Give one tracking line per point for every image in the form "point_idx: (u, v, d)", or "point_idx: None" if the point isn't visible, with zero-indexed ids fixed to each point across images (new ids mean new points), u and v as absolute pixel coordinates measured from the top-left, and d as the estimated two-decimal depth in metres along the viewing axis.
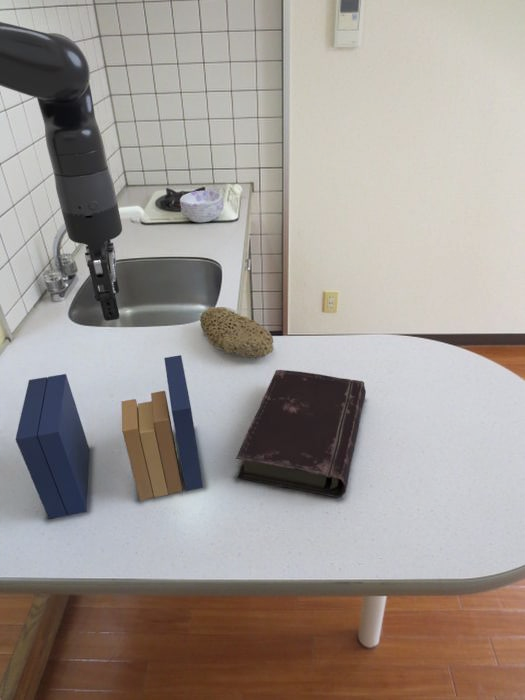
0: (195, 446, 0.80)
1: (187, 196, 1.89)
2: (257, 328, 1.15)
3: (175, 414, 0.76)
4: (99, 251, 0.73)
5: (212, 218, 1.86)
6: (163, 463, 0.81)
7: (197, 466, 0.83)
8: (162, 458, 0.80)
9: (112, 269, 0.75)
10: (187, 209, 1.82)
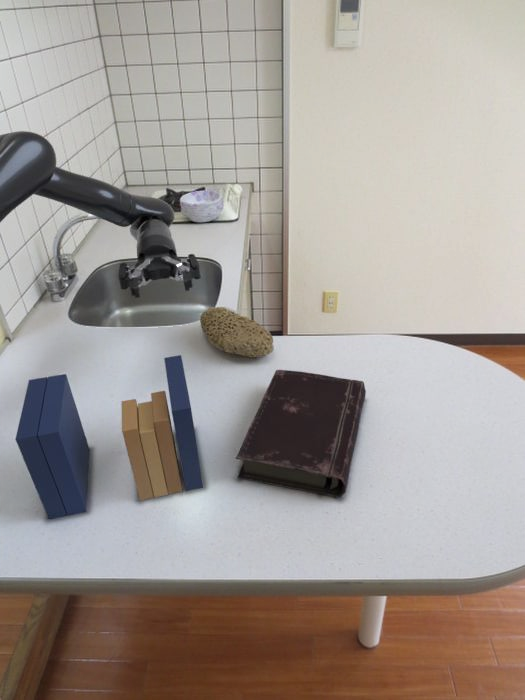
0: (195, 446, 0.80)
1: (187, 196, 1.89)
2: (257, 328, 1.15)
3: (175, 414, 0.76)
4: None
5: (212, 218, 1.86)
6: (163, 463, 0.81)
7: (197, 466, 0.83)
8: (162, 458, 0.80)
9: None
10: (187, 209, 1.82)
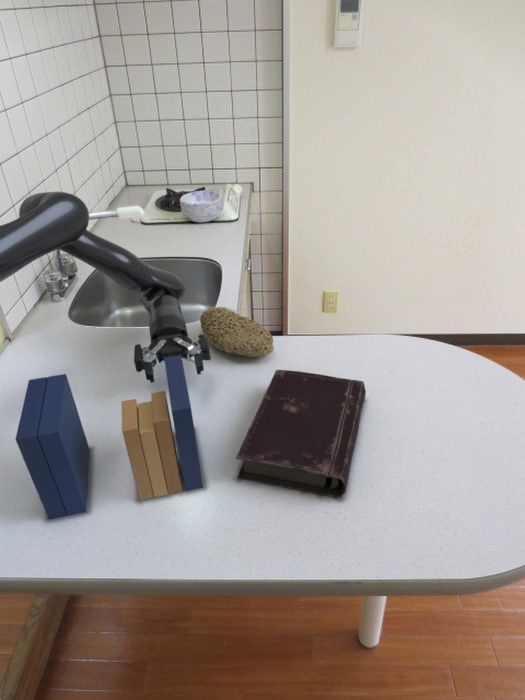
0: (195, 446, 0.80)
1: (187, 196, 1.89)
2: (257, 328, 1.15)
3: (175, 414, 0.76)
4: None
5: (212, 218, 1.86)
6: (163, 463, 0.81)
7: (197, 466, 0.83)
8: (162, 458, 0.80)
9: None
10: (187, 209, 1.82)
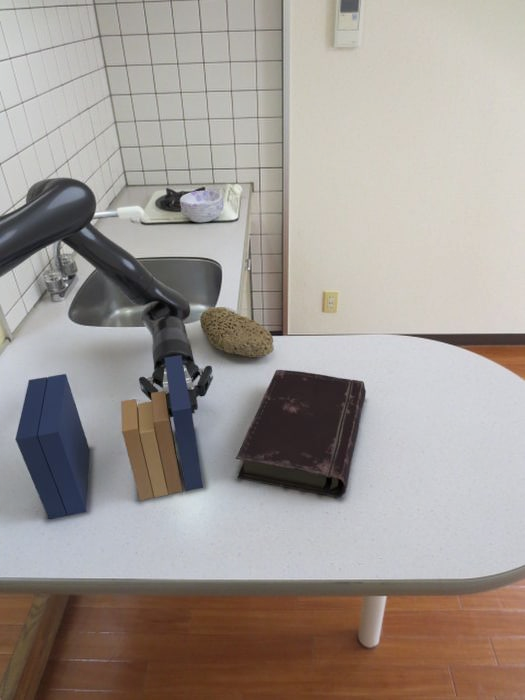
0: (195, 446, 0.80)
1: (187, 196, 1.89)
2: (257, 328, 1.15)
3: (176, 414, 0.76)
4: None
5: (212, 218, 1.86)
6: (163, 463, 0.81)
7: (198, 466, 0.83)
8: (162, 458, 0.80)
9: None
10: (187, 209, 1.82)
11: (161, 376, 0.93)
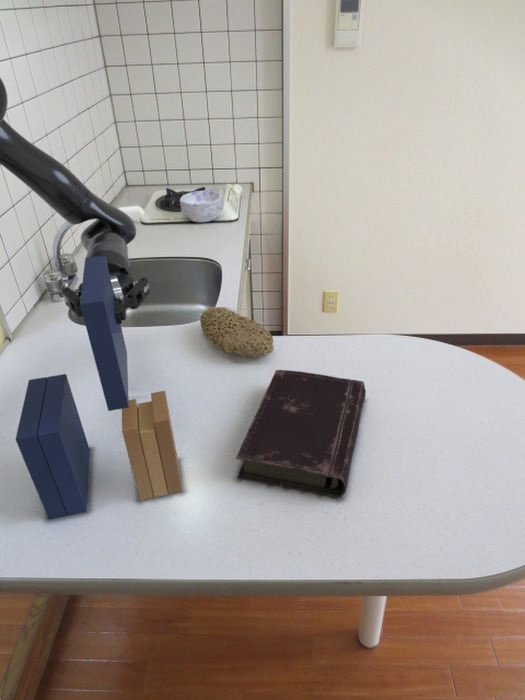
0: (114, 353, 0.68)
1: (187, 196, 1.89)
2: (257, 328, 1.15)
3: (85, 308, 0.64)
4: None
5: (212, 218, 1.86)
6: (163, 463, 0.81)
7: (119, 380, 0.70)
8: (162, 458, 0.80)
9: None
10: (187, 209, 1.82)
11: None
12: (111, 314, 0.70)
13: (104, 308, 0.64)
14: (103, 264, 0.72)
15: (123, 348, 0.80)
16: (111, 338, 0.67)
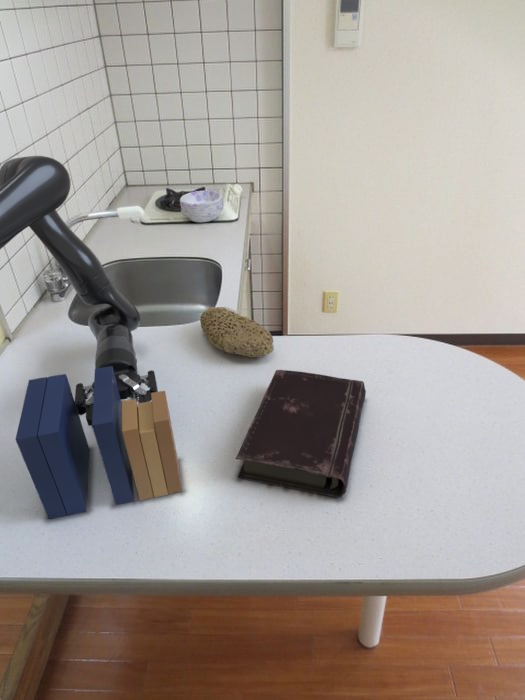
0: (121, 460, 0.78)
1: (187, 196, 1.89)
2: (257, 328, 1.15)
3: (96, 428, 0.74)
4: None
5: (212, 218, 1.86)
6: (163, 463, 0.81)
7: (125, 480, 0.81)
8: (162, 458, 0.80)
9: None
10: (187, 209, 1.82)
11: None
12: (118, 423, 0.81)
13: (112, 427, 0.75)
14: (111, 377, 0.83)
15: None
16: (118, 449, 0.77)
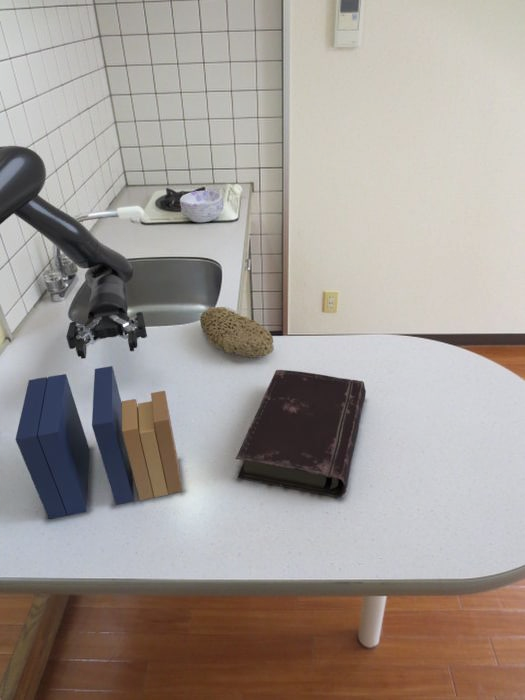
0: (121, 460, 0.78)
1: (187, 196, 1.89)
2: (257, 328, 1.15)
3: (96, 428, 0.74)
4: None
5: (212, 218, 1.86)
6: (163, 463, 0.81)
7: (125, 480, 0.81)
8: (162, 458, 0.80)
9: None
10: (187, 209, 1.82)
11: None
12: (118, 423, 0.81)
13: (112, 427, 0.75)
14: (110, 377, 0.83)
15: None
16: (118, 449, 0.77)
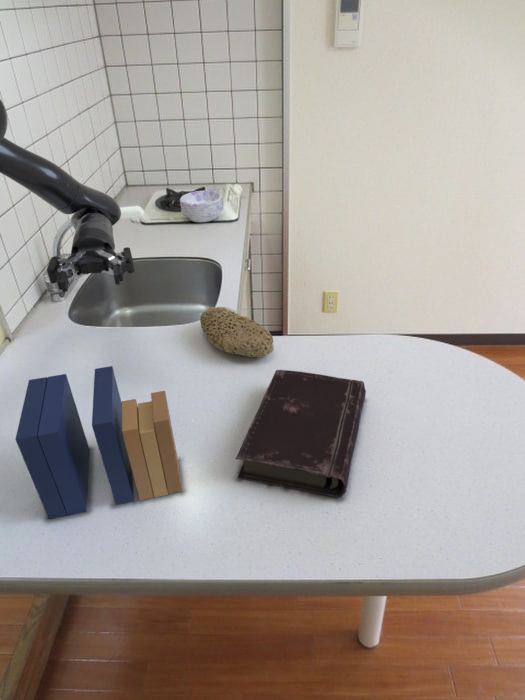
0: (121, 460, 0.78)
1: (187, 196, 1.89)
2: (257, 328, 1.15)
3: (96, 428, 0.74)
4: None
5: (212, 218, 1.86)
6: (163, 463, 0.81)
7: (125, 480, 0.81)
8: (162, 458, 0.80)
9: None
10: (187, 209, 1.82)
11: None
12: (118, 423, 0.81)
13: (112, 427, 0.75)
14: (110, 377, 0.83)
15: None
16: (118, 449, 0.77)
